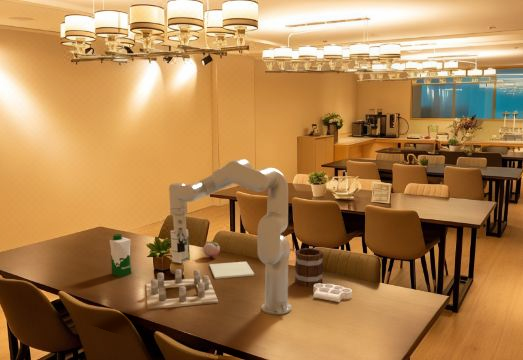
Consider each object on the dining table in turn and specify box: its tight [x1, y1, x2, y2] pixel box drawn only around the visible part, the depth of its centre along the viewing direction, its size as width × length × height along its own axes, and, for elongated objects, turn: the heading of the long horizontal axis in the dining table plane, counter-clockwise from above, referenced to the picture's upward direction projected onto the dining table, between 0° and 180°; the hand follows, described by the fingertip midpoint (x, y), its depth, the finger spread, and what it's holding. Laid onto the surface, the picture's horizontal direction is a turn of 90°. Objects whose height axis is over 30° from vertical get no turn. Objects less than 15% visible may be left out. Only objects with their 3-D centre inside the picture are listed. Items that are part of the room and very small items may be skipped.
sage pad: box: [209, 261, 255, 280], centre depth 257 cm, size 20×20×1 cm
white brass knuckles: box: [312, 283, 353, 303], centre depth 224 cm, size 3×18×15 cm
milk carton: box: [108, 233, 132, 278], centre depth 250 cm, size 9×9×20 cm
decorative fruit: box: [203, 240, 221, 259], centre depth 277 cm, size 9×8×10 cm
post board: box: [145, 268, 219, 310], centre depth 226 cm, size 30×30×7 cm
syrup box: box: [170, 228, 191, 264], centre depth 223 cm, size 6×6×14 cm
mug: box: [294, 247, 324, 288], centre depth 243 cm, size 20×14×15 cm
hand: (180, 249), depth 223 cm, fingers closed on syrup box, 7 cm apart
